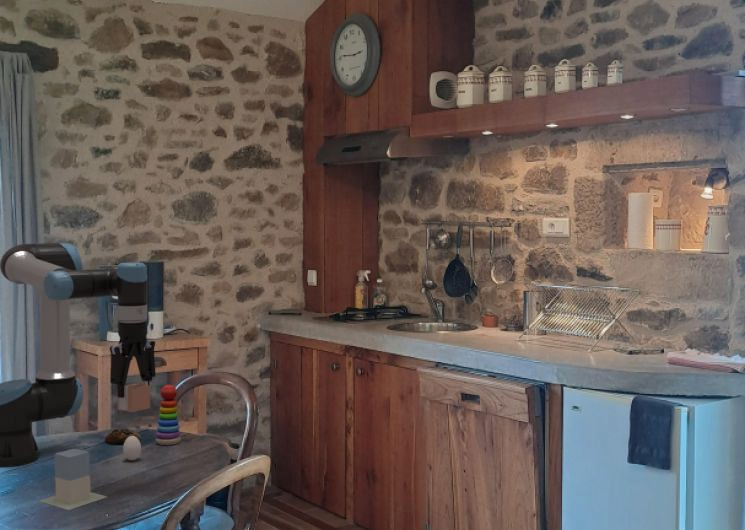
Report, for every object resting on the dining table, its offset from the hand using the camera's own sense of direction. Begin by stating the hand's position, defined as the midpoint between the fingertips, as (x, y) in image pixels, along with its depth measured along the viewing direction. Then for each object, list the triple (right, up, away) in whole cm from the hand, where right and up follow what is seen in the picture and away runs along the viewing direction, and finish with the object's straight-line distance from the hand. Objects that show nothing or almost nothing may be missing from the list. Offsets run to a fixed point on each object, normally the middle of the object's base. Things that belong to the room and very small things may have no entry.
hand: (133, 406), depth 233 cm
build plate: (-13, -23, -9) cm, 28 cm away
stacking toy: (-2, -20, +48) cm, 52 cm away
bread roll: (-17, -20, +51) cm, 57 cm away
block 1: (-13, -16, -10) cm, 23 cm away
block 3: (0, -1, 0) cm, 0 cm away
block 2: (-13, -22, -9) cm, 27 cm away
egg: (-8, -21, +28) cm, 36 cm away
